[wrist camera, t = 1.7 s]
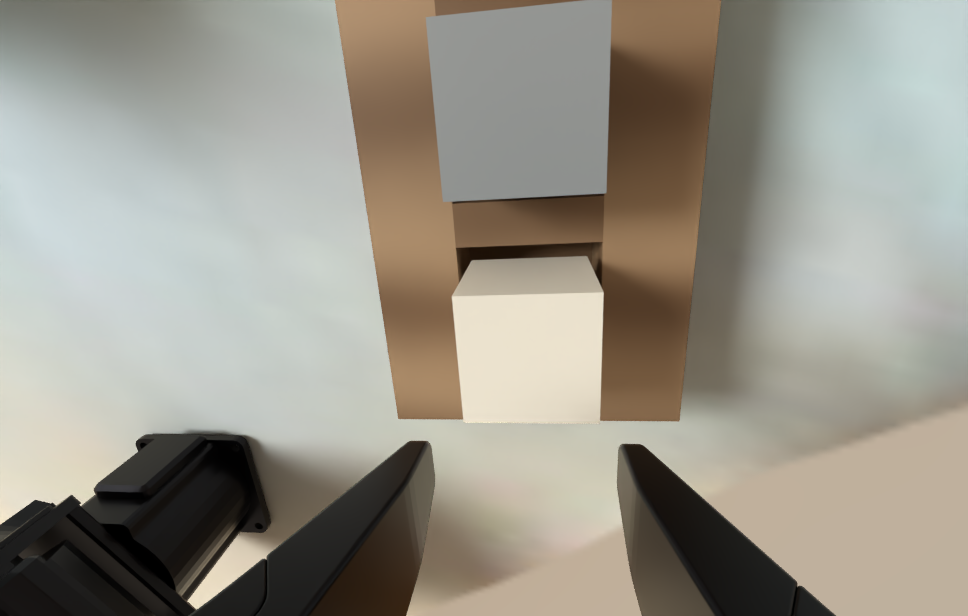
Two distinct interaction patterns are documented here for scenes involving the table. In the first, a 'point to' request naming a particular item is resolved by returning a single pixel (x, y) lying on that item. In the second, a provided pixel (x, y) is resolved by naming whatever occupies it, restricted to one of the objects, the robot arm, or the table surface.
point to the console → (538, 199)
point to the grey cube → (522, 100)
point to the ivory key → (529, 340)
